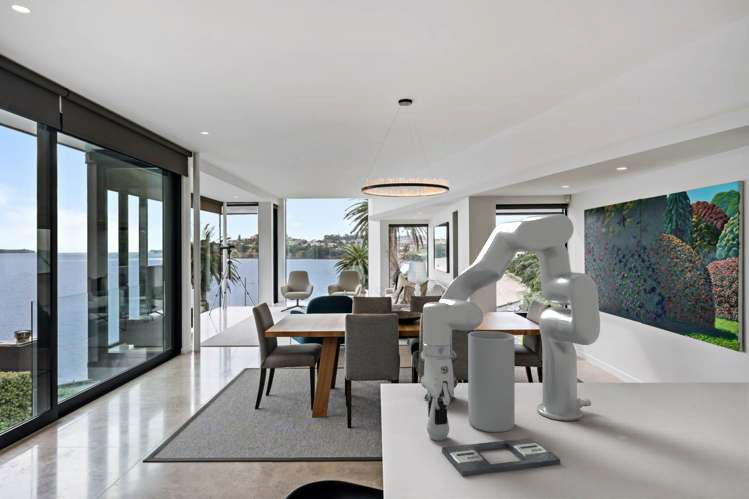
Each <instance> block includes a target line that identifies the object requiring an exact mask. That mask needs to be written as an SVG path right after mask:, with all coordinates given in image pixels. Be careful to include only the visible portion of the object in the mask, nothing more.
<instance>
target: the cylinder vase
mask: <svg viewBox="0 0 749 499" xmlns="http://www.w3.org/2000/svg"><path fill="white" fill-rule="evenodd" d="M467 339H468V340H467V342H468V343H467V346H468V350H467V351H468V352H467V358H468V362H467V363H468V364H467V366H468V367H467V369H468V374H467V375H468V376H467V378H468V382H467V384H468V386H467V388H468V389H467V390H468V392H467V393H468V395H467V397H468V399H467V403H468V404H467V405H468V408H467V410H468V412H467V413H468V414H467V415H468V423H469V424H470V426H471V427H473V428H475V429H477V430H479V431H483V432H487V433H497V434H498V433H506V432H509V431H510V430H513V429H514V427H515V425H516V424H515V423H516V422H515V419H516V418H515V406H516V404H515V402H516V401H515V398H516V397H515V396H516V394H515V393H516V392H515V386H516V385H515V382H516V381H515V369H516V368H515V335H513V334H512V333H509V332H508V333H507V332H503V331H493V330H492V331H490V330H489V331H488V330H483V331H480V330H479V331H473V332H470V333H468V336H467Z"/></svg>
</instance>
